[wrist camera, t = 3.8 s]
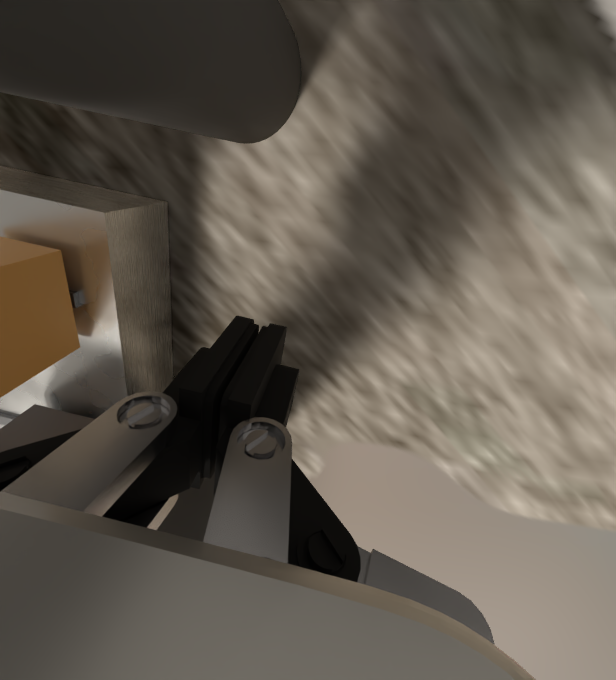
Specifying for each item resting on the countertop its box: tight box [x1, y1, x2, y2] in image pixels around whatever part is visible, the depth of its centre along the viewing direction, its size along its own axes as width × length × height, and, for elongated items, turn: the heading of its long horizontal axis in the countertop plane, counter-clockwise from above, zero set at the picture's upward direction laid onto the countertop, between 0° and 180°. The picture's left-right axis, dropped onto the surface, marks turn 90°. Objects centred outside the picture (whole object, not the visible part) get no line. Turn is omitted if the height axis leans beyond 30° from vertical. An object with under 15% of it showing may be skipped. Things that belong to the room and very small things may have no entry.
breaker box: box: [0, 165, 173, 429], centre depth 16 cm, size 12×14×4 cm
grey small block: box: [0, 404, 95, 452], centre depth 14 cm, size 3×4×5 cm
